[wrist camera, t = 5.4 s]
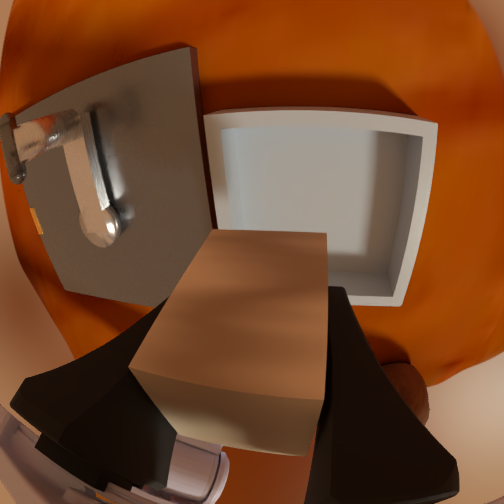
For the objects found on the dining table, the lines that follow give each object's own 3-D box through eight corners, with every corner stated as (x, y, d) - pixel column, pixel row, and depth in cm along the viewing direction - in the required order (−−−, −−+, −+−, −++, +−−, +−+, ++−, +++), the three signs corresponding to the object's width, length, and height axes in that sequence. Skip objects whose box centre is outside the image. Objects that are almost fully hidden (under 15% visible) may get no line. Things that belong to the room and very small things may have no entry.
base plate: (196, 48, 13) (188, 46, 12) (230, 308, 24) (227, 317, 23) (15, 117, 17) (7, 120, 17) (69, 284, 28) (64, 290, 27)
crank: (126, 241, 21) (74, 298, 15) (94, 240, 21) (43, 290, 16) (92, 86, 14) (11, 106, 9) (59, 100, 15) (-14, 125, 9)
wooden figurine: (359, 387, 27) (352, 514, 15) (361, 358, 25) (356, 510, 12) (416, 380, 25) (424, 504, 13) (426, 350, 23) (443, 496, 10)
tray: (418, 116, 13) (437, 123, 10) (393, 278, 19) (401, 306, 17) (221, 109, 15) (203, 115, 13) (239, 270, 22) (229, 296, 19)
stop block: (326, 232, 9) (324, 399, 4) (319, 317, 11) (306, 456, 7) (212, 229, 10) (128, 366, 5) (227, 310, 12) (179, 434, 7)
